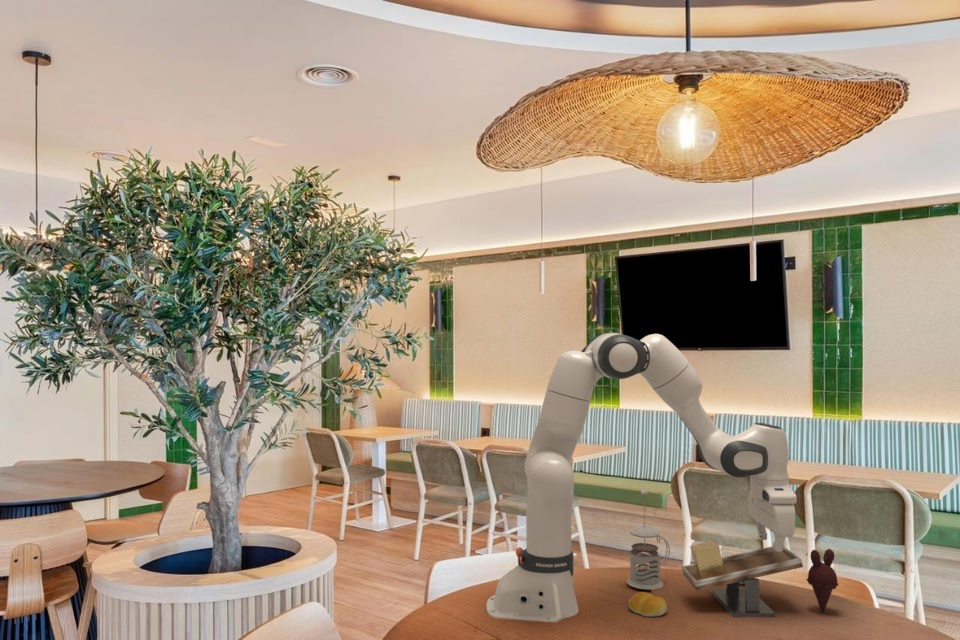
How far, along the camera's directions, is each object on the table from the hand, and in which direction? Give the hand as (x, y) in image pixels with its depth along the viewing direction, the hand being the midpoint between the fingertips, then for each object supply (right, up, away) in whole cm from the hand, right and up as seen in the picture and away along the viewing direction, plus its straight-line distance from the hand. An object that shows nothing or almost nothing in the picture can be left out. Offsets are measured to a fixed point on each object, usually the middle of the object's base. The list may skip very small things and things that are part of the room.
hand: (770, 544), depth 174 cm
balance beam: (-7, -7, 0) cm, 10 cm away
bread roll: (-28, -15, -5) cm, 32 cm away
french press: (-26, -16, +16) cm, 35 cm away
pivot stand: (-7, -15, 0) cm, 17 cm away
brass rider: (-15, -7, 0) cm, 16 cm away
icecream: (+11, -15, -4) cm, 19 cm away
